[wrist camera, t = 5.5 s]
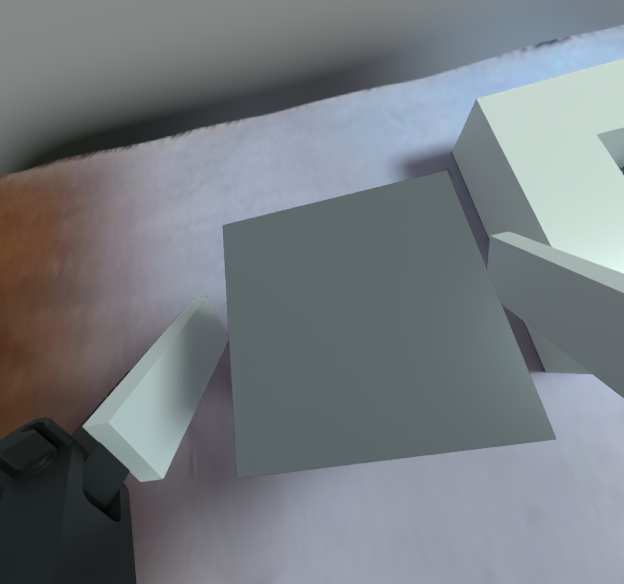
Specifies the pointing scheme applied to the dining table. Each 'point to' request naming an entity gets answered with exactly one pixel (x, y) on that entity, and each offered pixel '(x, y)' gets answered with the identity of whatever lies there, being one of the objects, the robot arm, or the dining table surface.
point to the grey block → (370, 334)
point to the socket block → (552, 170)
